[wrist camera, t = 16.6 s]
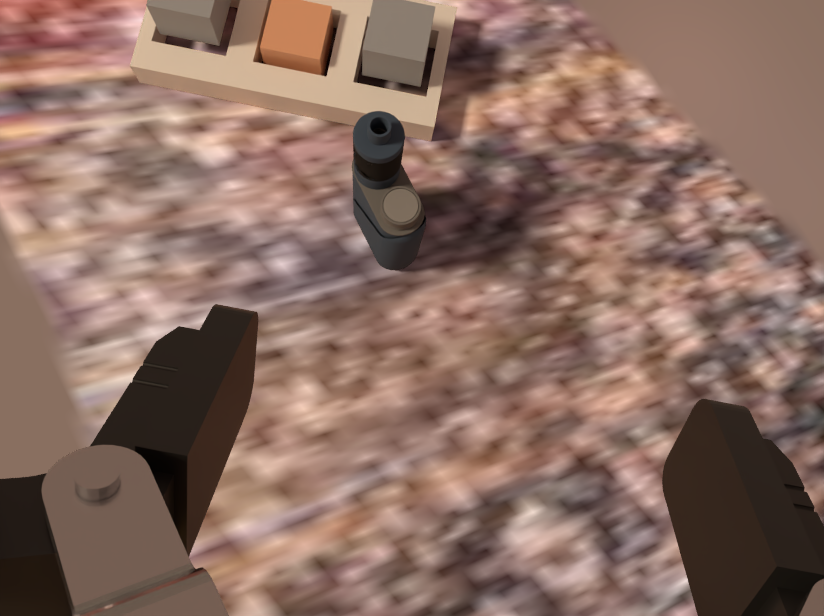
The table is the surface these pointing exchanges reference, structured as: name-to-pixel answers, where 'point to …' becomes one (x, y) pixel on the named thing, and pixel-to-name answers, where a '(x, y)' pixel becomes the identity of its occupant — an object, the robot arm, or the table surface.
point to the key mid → (298, 36)
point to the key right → (397, 41)
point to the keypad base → (290, 88)
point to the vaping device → (385, 191)
